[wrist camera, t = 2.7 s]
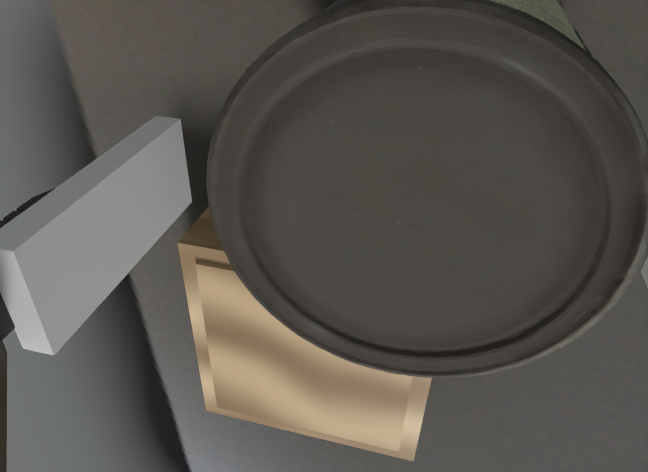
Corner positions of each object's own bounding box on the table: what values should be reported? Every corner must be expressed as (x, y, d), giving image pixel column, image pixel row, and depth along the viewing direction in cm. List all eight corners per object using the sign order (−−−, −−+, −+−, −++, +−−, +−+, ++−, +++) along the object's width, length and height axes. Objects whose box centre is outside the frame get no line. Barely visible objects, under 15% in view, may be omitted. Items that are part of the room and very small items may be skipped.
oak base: (217, 195, 31) (175, 245, 27) (455, 233, 28) (449, 295, 24) (235, 356, 39) (204, 413, 35) (421, 397, 36) (413, 464, 32)
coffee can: (353, 172, 28) (263, 372, 16) (314, -41, 22) (141, 39, 11) (563, 158, 24) (629, 395, 13) (575, -95, 19) (703, -59, 8)
